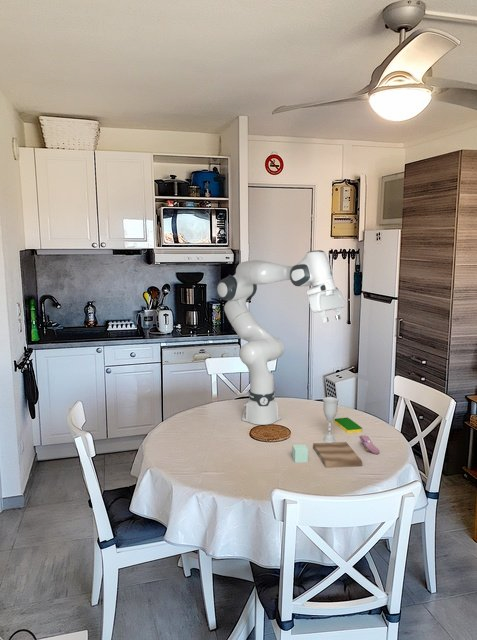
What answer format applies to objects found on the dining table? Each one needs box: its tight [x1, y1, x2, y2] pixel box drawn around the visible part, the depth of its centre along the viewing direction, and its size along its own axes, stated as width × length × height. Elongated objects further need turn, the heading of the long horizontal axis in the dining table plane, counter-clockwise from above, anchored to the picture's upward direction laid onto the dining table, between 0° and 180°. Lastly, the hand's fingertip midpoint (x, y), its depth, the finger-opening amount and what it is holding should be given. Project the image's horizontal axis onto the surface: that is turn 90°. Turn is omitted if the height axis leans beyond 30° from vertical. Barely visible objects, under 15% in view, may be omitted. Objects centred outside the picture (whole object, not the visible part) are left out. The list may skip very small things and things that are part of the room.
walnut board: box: [312, 441, 363, 469], centre depth 190 cm, size 18×14×2 cm
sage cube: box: [291, 444, 309, 463], centre depth 187 cm, size 5×5×5 cm
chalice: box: [322, 396, 340, 443], centre depth 204 cm, size 7×7×18 cm
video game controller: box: [358, 434, 380, 455], centre depth 196 cm, size 10×5×7 cm, turn 5°
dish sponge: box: [333, 417, 363, 434], centre depth 221 cm, size 7×14×2 cm, turn 15°
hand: (332, 320), depth 196 cm, fingers open, 8 cm apart
